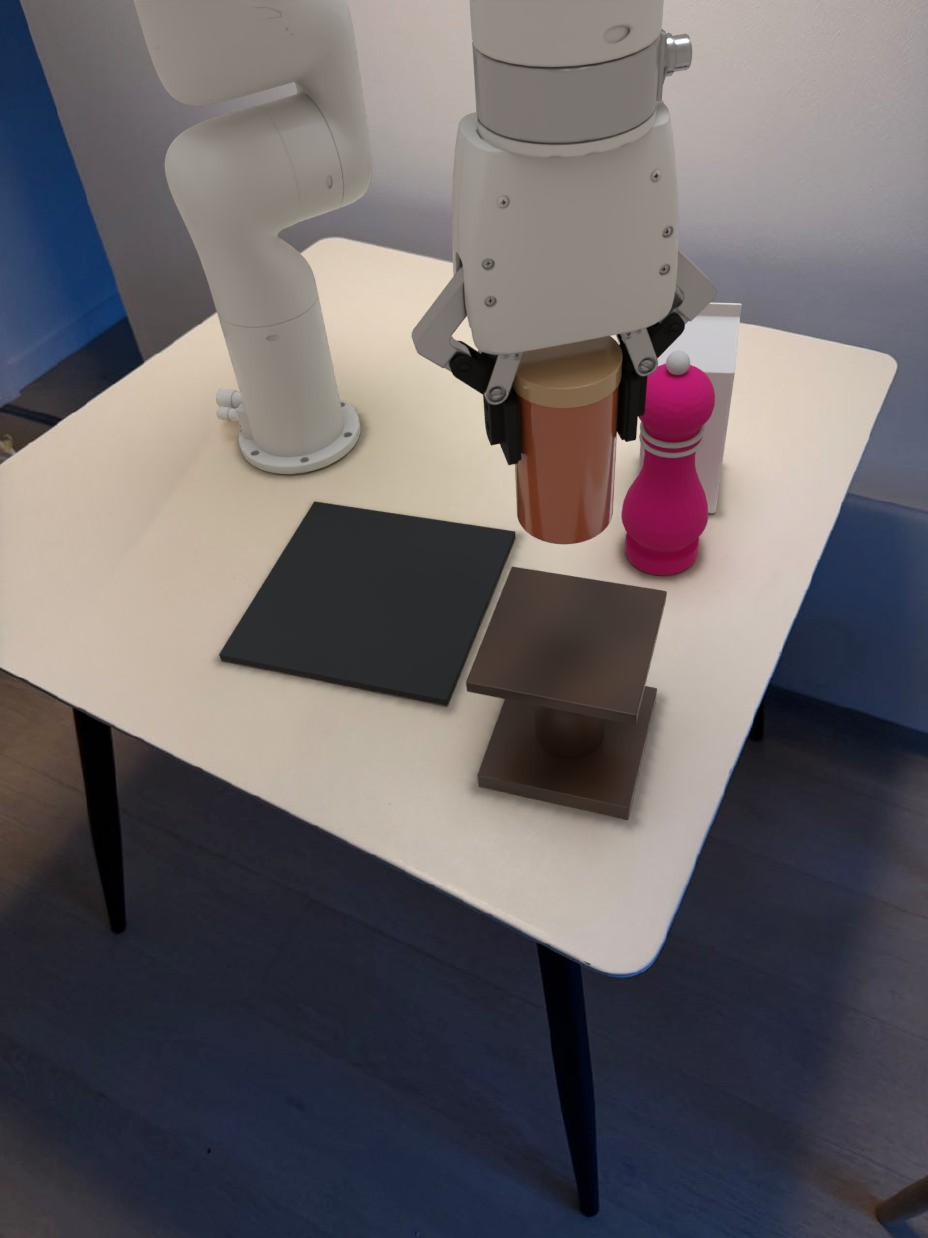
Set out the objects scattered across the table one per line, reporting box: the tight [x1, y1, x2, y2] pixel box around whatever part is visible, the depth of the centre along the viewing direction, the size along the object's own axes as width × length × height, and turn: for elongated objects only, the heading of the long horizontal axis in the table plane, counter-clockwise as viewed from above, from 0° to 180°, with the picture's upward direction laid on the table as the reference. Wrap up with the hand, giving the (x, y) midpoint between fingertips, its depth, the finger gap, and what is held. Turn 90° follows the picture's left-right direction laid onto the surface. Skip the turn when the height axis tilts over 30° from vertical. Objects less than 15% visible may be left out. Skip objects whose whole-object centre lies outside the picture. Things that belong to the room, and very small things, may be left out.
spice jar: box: [512, 336, 623, 545], centre depth 54 cm, size 6×6×11 cm
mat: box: [218, 500, 517, 707], centre depth 86 cm, size 20×20×1 cm
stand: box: [465, 566, 668, 820], centre depth 70 cm, size 11×11×12 cm
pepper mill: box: [620, 351, 715, 576], centre depth 80 cm, size 7×7×20 cm
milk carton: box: [638, 302, 743, 514], centre depth 86 cm, size 7×7×19 cm
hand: (564, 435), depth 54 cm, fingers closed on spice jar, 5 cm apart
